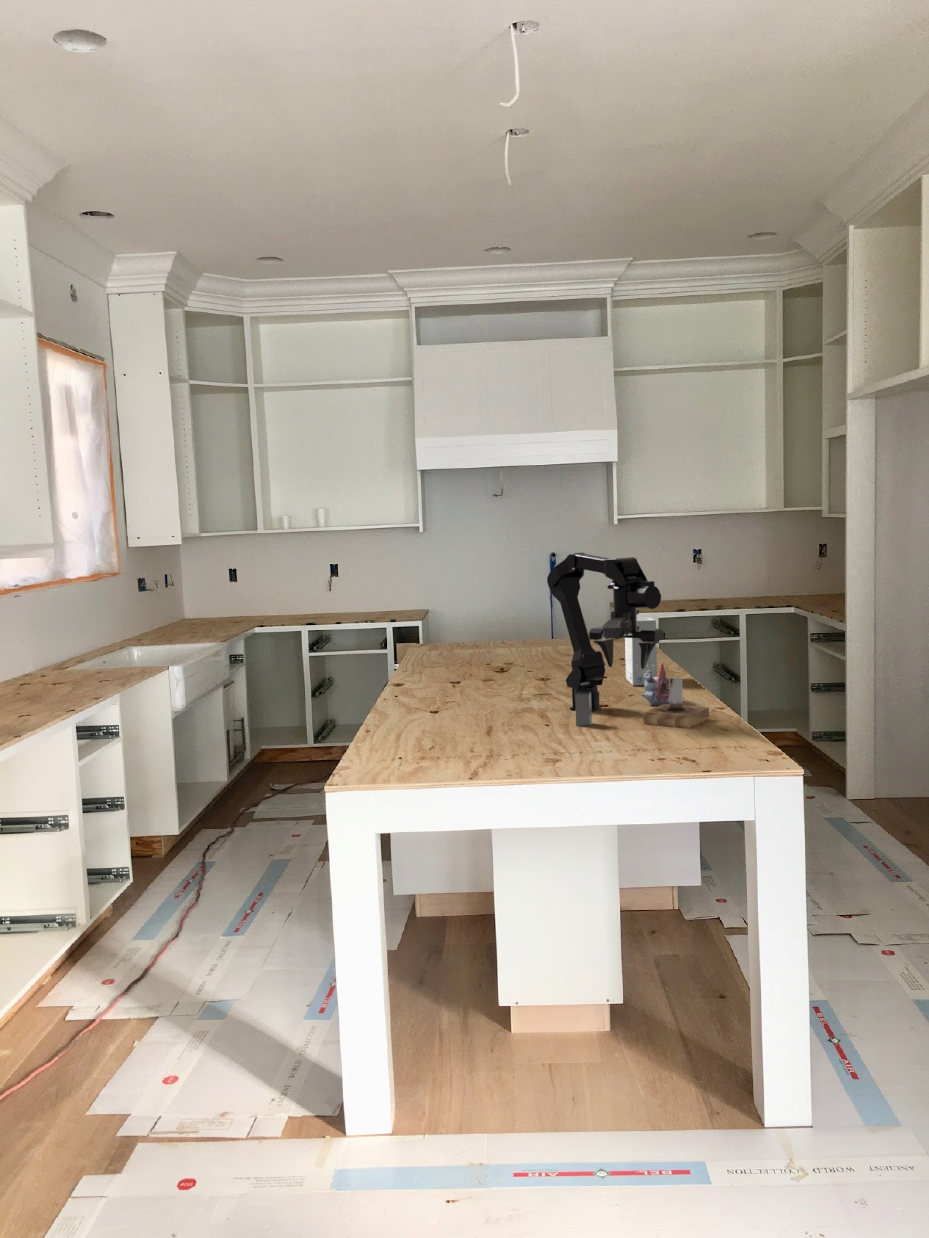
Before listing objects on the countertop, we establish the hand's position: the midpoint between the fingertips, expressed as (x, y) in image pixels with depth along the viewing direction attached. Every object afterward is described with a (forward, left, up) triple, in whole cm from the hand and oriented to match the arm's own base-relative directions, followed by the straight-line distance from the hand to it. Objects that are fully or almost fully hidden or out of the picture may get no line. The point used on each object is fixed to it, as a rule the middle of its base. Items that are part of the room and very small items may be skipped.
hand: (626, 667), depth 254 cm
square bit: (-6, -12, -13) cm, 19 cm away
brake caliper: (-2, +22, -13) cm, 26 cm away
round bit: (+13, +1, -13) cm, 18 cm away
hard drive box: (-22, +51, -13) cm, 57 cm away
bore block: (+13, +1, -13) cm, 18 cm away
